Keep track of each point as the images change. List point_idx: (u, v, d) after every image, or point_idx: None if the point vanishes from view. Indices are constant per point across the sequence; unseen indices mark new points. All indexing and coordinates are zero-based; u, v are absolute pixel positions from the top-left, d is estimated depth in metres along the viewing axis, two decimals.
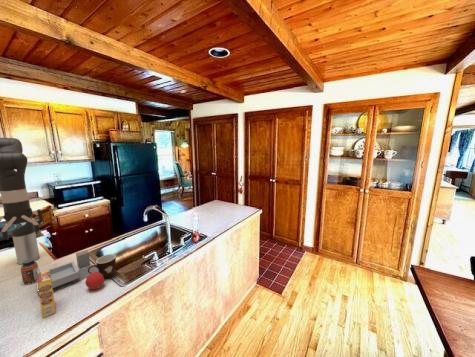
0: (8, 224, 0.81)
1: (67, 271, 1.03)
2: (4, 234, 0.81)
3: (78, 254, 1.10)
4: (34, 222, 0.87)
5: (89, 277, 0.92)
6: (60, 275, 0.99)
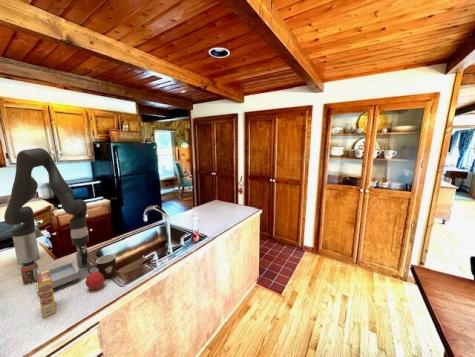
0: None
1: (67, 271, 1.03)
2: (86, 260, 1.11)
3: (78, 254, 1.10)
4: None
5: (89, 277, 0.92)
6: (60, 275, 0.99)
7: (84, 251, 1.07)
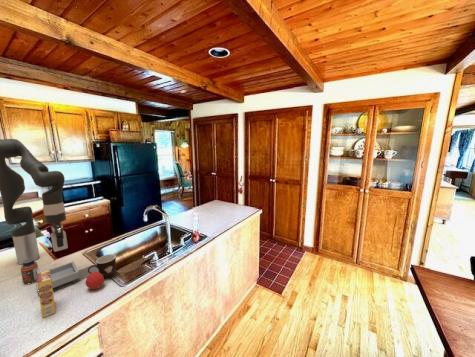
0: None
1: (67, 271, 1.03)
2: (62, 241, 0.96)
3: (53, 234, 0.95)
4: None
5: (89, 277, 0.92)
6: (60, 275, 0.99)
7: (59, 230, 0.92)
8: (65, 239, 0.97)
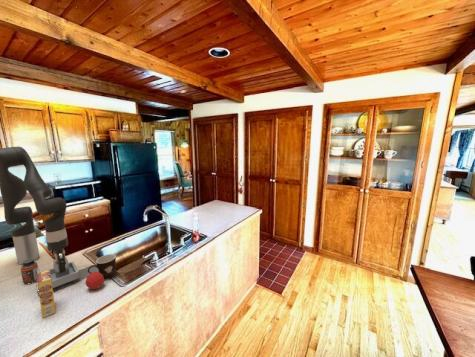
0: None
1: None
2: (64, 266, 0.96)
3: (55, 262, 0.96)
4: None
5: (89, 277, 0.92)
6: None
7: (61, 255, 0.93)
8: (67, 267, 0.98)
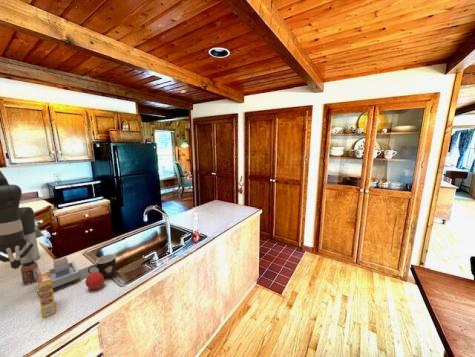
0: None
1: None
2: None
3: (55, 262, 0.96)
4: None
5: (89, 277, 0.92)
6: None
7: (32, 245, 0.90)
8: (67, 267, 0.98)
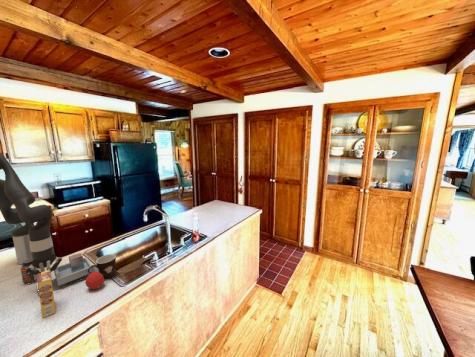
0: None
1: None
2: None
3: (71, 257, 1.01)
4: None
5: (89, 277, 0.92)
6: None
7: None
8: (82, 261, 1.03)
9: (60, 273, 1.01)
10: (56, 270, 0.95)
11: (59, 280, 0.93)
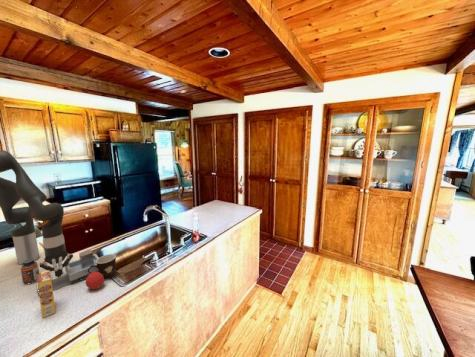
0: None
1: None
2: None
3: (81, 254, 1.04)
4: None
5: (89, 277, 0.92)
6: None
7: None
8: (92, 258, 1.06)
9: (71, 269, 1.04)
10: (68, 266, 0.98)
11: (71, 276, 0.96)
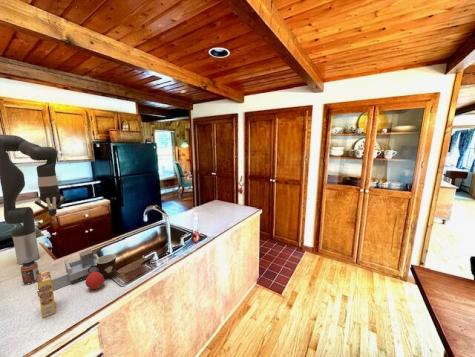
0: None
1: None
2: None
3: (82, 254, 1.04)
4: None
5: (89, 277, 0.92)
6: None
7: None
8: (92, 258, 1.06)
9: (71, 269, 1.04)
10: (68, 266, 0.99)
11: (71, 275, 0.96)
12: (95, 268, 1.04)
